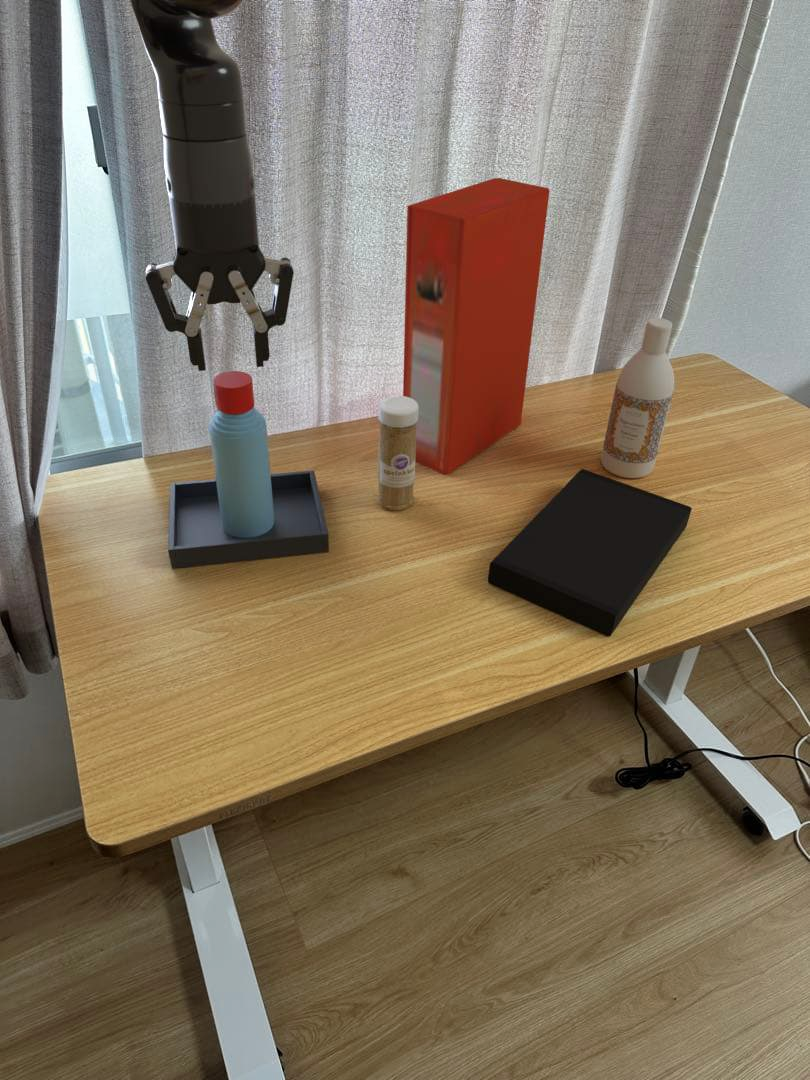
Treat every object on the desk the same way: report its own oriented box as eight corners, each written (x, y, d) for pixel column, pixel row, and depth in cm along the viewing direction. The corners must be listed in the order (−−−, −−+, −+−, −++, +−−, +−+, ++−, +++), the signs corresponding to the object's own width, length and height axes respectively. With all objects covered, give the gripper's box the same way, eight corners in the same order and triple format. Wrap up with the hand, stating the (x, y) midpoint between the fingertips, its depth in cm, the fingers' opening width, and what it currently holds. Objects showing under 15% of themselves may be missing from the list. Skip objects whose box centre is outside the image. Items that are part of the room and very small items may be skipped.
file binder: (399, 454, 108) (407, 204, 88) (473, 408, 119) (495, 176, 99) (448, 476, 104) (467, 219, 84) (520, 426, 115) (552, 189, 95)
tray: (171, 569, 87) (168, 550, 86) (173, 500, 98) (170, 482, 96) (329, 552, 91) (328, 533, 89) (314, 487, 101) (314, 470, 99)
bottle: (222, 540, 91) (203, 398, 80) (221, 510, 95) (202, 371, 84) (276, 535, 92) (264, 394, 81) (272, 505, 96) (260, 368, 86)
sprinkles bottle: (387, 515, 97) (389, 416, 88) (370, 496, 100) (371, 398, 91) (420, 506, 98) (426, 408, 90) (403, 487, 101) (407, 390, 93)
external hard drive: (487, 582, 87) (490, 561, 85) (577, 487, 103) (581, 467, 101) (610, 637, 81) (616, 615, 79) (686, 527, 96) (692, 507, 95)
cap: (216, 415, 82) (213, 389, 81) (215, 398, 85) (212, 372, 84) (255, 413, 83) (253, 386, 81) (253, 395, 86) (250, 369, 84)
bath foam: (592, 470, 106) (622, 325, 94) (609, 447, 111) (639, 306, 99) (644, 485, 103) (681, 338, 91) (659, 461, 108) (696, 319, 96)
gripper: (288, 176, 76) (297, 346, 86) (129, 180, 73) (158, 354, 83) (296, 198, 70) (305, 377, 80) (124, 203, 67) (156, 387, 78)
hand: (230, 365), depth 82 cm, fingers open, 5 cm apart
